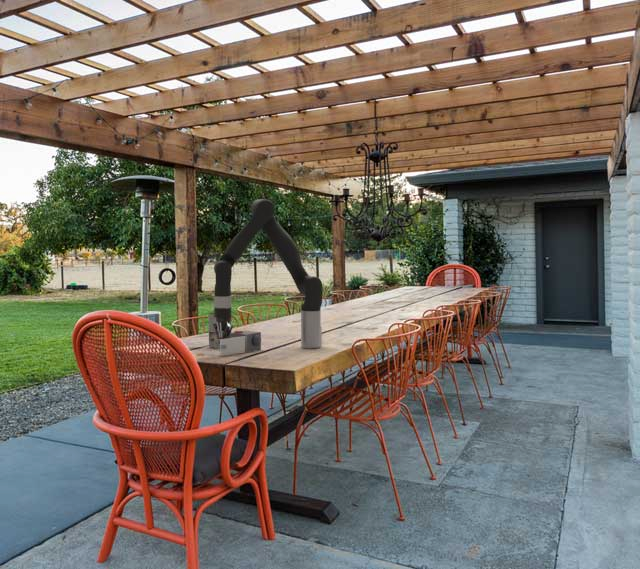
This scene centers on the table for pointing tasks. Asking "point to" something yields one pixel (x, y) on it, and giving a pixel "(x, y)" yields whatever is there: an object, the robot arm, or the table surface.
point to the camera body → (249, 339)
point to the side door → (233, 345)
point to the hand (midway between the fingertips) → (222, 345)
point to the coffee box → (214, 332)
